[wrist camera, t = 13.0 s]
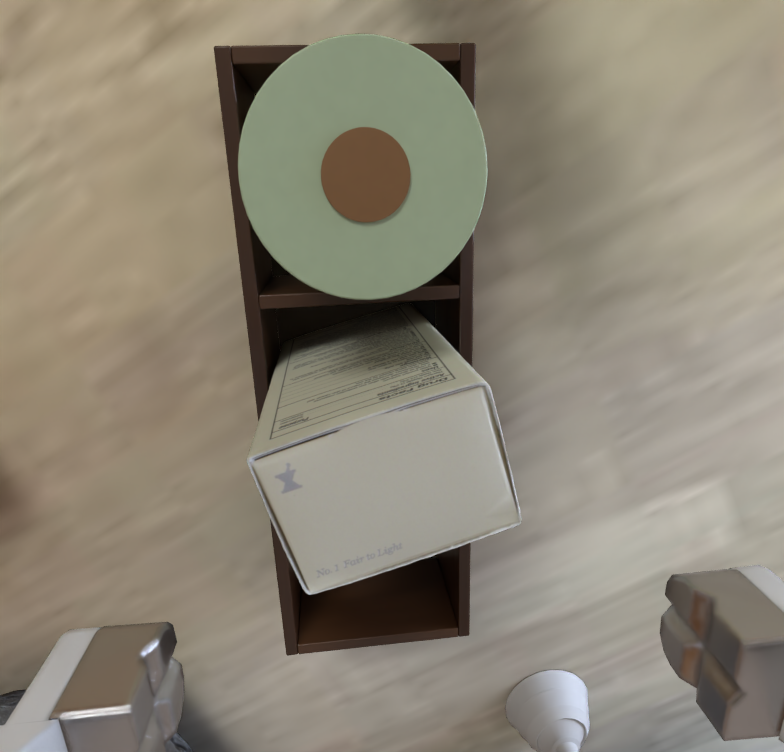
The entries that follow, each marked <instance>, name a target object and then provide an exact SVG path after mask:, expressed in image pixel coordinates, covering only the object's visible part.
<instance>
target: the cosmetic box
mask: <svg viewBox="0 0 784 752" xmlns="http://www.w3.org/2000/svg"><path fill="white" fill-rule="evenodd" d="M246 461H247V464H248V466H249V468H250V470H251V472H252V475H253V478H254V481H255V483H256V486H257V488H258V490H259V492H260V495H261V497H262V499H263V502H264V505H265V507H266V509H267V512H268V515H269V517H270V519H271V521H272V523H273V526H274V528H275V530H276V532H277V535H278V537H279V539H280V542H281V544H282V547H283V549H284V551H285V553H286V555H287V557H288V560H289V562H290V564H291V566H292V568H293V570H294V572H295V574H296V576H297V578H298V580H299V582H300V584H301V586H302V589H303V590H304V591H305V593H307V594H308V595H312V594H317V593H320V592H323V591H326V590H330V589H334V588H336V587H340V586H343V585H347V584H350V583H353V582H356V581H359V580H362V579H365V578H368V577H372V576H375V575H378V574H380V573H383V572H386V571H390V570H393V569H396V568H399V567H402V566H405V565H408V564H411V563H413V562H416V561H419V560H422V559H425V558H428V557H432V556H434V555H436V554H440V553H443V552H445V551H448V550H451V549H454V548H457V547H460V546H463V545H466V544H468V543H471V542H474V541H477V540H480V539H483V538H486V537H488V536H491V535H494V534H497V533H500V532H502V531H505V530H508V529H510V528H513V527H516V526H518V525H520V523H521V522H522V517H521V513H520V508H519V504H518V500H517V495H516V490H515V486H514V481H513V476H512V472H511V467H510V463H509V459H508V455H507V450H506V446H505V442H504V437H503V433H502V429H501V425H500V421H499V417H498V413H497V409H496V405H495V402H494V398H493V394H492V390H491V387H490V385H489V384H488V383H487V382H486V381H485V380H484V379H483V378H482V377H481V376H480V375H479V374H478V373H477V372H476V371H475V370H474V369H473V368H472V367H471V366H470V365H469V364H468V363H467V362H466V361H465V360H464V359H463V357H462V356H461V355H460V354H459V353H458V352H457V351H456V350H455V349H454V348H453V347H452V346H451V345H450V343H449V342H448V341H447V340H446V339H445V338H444V337H443V336H442V335H441V334H440V333H439V332H438V331H437V330H436V329H435V328H434V327H433V326H432V325H431V324H430V322H429V321H428V320H427V319H426V318H425V317H424V316H423V315H422V314H421V313H420V312H419V311H418V310H417V309H416V308H415V307H414V306H413V305H412V304H411V303H405V304H402V305H398V306H395V307H391V308H388V309H384V310H381V311H377V312H374V313H371V314H368V315H364V316H361V317H358V318H354V319H351V320H348V321H345V322H342V323H339V324H336V325H332V326H329V327H326V328H323V329H320V330H317V331H314V332H311V333H308V334H305V335H302V336H299V337H296V338H293V339H290V340H287V341H285V342H284V343H283V345H282V348H281V351H280V354H279V358H278V361H277V365H276V368H275V371H274V374H273V377H272V380H271V384H270V387H269V390H268V393H267V396H266V399H265V402H264V406H263V409H262V412H261V415H260V419H259V422H258V425H257V428H256V432H255V435H254V438H253V441H252V444H251V447H250V450H249V453H248V456H247V460H246Z"/></svg>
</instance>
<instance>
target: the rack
mask: <svg viewBox="0 0 784 752" xmlns="http://www.w3.org/2000/svg"><path fill="white" fill-rule="evenodd" d="M410 45H412V46H414V47H415V48H417V49H419V50H421V51H423V52H425V53H426V54H428V55H429V56H430V57H432V58H433V59H434V60H436V61H437V62H438V63H440V64H441V65H442V66H443V67H444V68H445V69H446V70H447V71H448V72H449V73H450V74H451V75H452V76H453V77H454V79H455V80H456V81H457V83H458V84H459V85H460V86H461V88H462V89H463V90H464V92H465V94H466V95H467V97H468V99H469V100H470V102H471V104H472V106H473V108H474V110H475V81H476V44H475V43H461V44H459V43H429V44H410ZM307 46H309V45H264V46H232V47H230V46H215V47H214V53H215V62H216V70H217V78H218V87H219V95H220V104H221V112H222V120H223V129H224V137H225V145H226V154H227V162H228V170H229V179H230V187H231V195H232V204H233V212H234V221H235V229H236V237H237V246H238V254H239V262H240V271H241V279H242V287H243V296H244V304H245V312H246V321H247V329H248V338H249V346H250V354H251V363H252V371H253V379H254V388H255V396H256V404H257V413H258V421H259V419H260V415H261V412H262V409H263V406H264V402H265V399H266V396H267V393H268V390H269V387H270V384H271V380H272V377H273V374H274V371H275V368H276V365H277V361H278V358H279V354H280V342H279V332H278V322H277V312H276V308H294V307H313V306H332V305H350V304H369V303H387V302H406V301H424V300H435V329H436V330H437V331H438V332H439V333H440V334H441V335H442V336H443V337H444V338H445V339H446V340H447V341H448V342H449V343H450V345H451V346H452V347H453V348H454V349H455V350H456V351H457V352H458V353H459V354H460V355H461V356H462V357H463V359H464V360H465V361H466V362H467V363H468V364H469V365H470V366H471V367H472V351H473V261H474V230H473V232H472V235H471V236H470V238H469V240H468V241H467V243H466V244H465V246H464V248H463V249H462V250H461V252H460V253H459V254H458V255H457V256H456V258H455V259H454V260H453V261H452V262H451V263H450V264H449V265H448V266H447V267H446V268H445V269H444V270H443V271H442V272H441V273H439V274H438V275H437V276H435V277H434V278H433V279H431V280H430V281H428V282H427V283H425V284H423V285H421V286H419V287H418V288H416V289H413V290H411V291H408V292H406V293H403V294H401V295H397V296H393V297H389V298H383V299H375V300H355V299H348V298H341V297H337V296H334V295H330V294H327V293H324V292H322V291H319V290H317V289H315V288H312V287H310V286H309V285H307V284H305V283H303V282H302V281H300V280H298V279H297V278H296V277H294V276H293V275H281V276H273V273H272V263H271V254H270V253H269V252H268V251H267V249H266V248H265V247H264V246H263V244H262V242H261V241H260V239H259V237H258V236H257V234H256V233H255V231H254V229H253V227H252V224H251V222H250V220H249V218H248V216H247V213H246V210H245V206H244V203H243V200H242V196H241V190H240V185H239V176H238V153H239V143H240V138H241V133H242V128H243V125H244V122H245V119H246V116H247V113H248V111H249V108H250V106H251V104H252V102H253V100H254V98H255V96H254V93H255V94H257V93H258V91H259V90H260V89H261V87H262V86H263V84H264V83H265V81H266V80H267V79H268V78H269V76H270V75H271V74H272V73H273V72H274V71H275V70H276V69H277V68H278V67H279V66H280V65H281V64H282V63H283V62H285V61H286V60H287V59H288V58H290V57H291V56H292V55H294V54H295V53H297V52H299V51H300V50H302V49H304V48H305V47H307ZM270 521H271V519H270ZM271 530H272V538H273V546H274V555H275V563H276V571H277V580H278V588H279V597H280V605H281V613H282V622H283V630H284V638H285V647H286V654H287V655H295V654H298V653H299V654H304V653H313V652H322V651H331V650H341V649H350V648H359V647H368V646H377V645H386V644H395V643H404V642H414V641H423V640H432V639H441V638H450V637H458V636H468V635H469V621H470V543H468V544H466V545H463V546H460V547H457V548H454V549H451V550H448V551H445V552H443V553H440V554H438V558H431V559H422V560H419V561H416V562H413V563H411V564H408V565H405V566H402V567H399V568H396V569H393V570H390V571H386V572H383V573H380V574H378V575H375V576H372V577H368V578H365V579H362V580H359V581H356V582H353V583H350V584H347V585H343V586H340V587H336V588H334V589H330V590H326V591H323V592H320V593H317V594H312V595H308V594H307V593H305V591H304V590H303V589H302V586H301V584H300V582H299V580H298V578H297V576H296V574H295V572H294V570H293V568H292V566H291V564H290V562H289V560H288V557H287V555H286V553H285V551H284V549H283V547H282V544H281V542H280V539H279V537H278V535H277V532H276V530H275V528H274V526H273V523H272V521H271Z"/></svg>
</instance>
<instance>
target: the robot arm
mask: <svg viewBox="0 0 784 752" xmlns="http://www.w3.org/2000/svg"><path fill="white" fill-rule="evenodd" d="M665 595H666V597H667V598H668V600H669V601H670V602H671V604H672V605H671V606H670V607H669V608H668V610H667V611H666V612H665V613H664V614H663V615H662V617H661V627H660V636H661V641H662V646H663V650H664V653H665V655H666V657H667V659H668V661H669V664H670V665H671V667H672V668H673V670H674V671H675V672H676V674H677V675H678V677H679V678H681V679H682V680H684V681H686V682H687V683H689V684H690V685H692V686H694V687H695V688H697V691H696V702H697V704H698V705H699V707H700V708H701V709H702V711H703V712H704V714H705V715H706V716H707V718H708V719H709V721H710V722H711V723H712V725H713V726H714V728H715V729H716V730H717V732H718V733H719V735H720V736H721V737H722V739H723V740H724V741H728V740H740V739H751V738H763V737H774V736H779V740H780V741H782V742H783V743H784V581H782V580H781V579H780V578H779V577H778V576H777V575H775V574H774V573H773V572H772V571H771V570H770V569H768V568H765V567H763V566H761V565H753V566H744V567H735V568H730V569H722V570H712V571H702V572H693V573H683V574H673V575H671V577H670V578H669V580H668V581H667V585H666V591H665ZM176 643H177V640H176V636H175V631H174V627H173V625H172V624H171V623H169V622H159V623H145V624H131V625H116V626H104V627H97V628H83V629H70V630H68V631H67V632H66V633H64V634H63V635H61V637H60V638H59V639H58V641H57V643H56V644H55V646H54V647H53V649H52V650H51V652H50V654H49V655H48V657H47V658H46V660H45V662H44V663H43V665H42V666H41V668H40V669H39V671H38V673H37V674H36V676H35V677H34V679H33V681H32V682H31V684H30V685H29V687H28V688H27V690H26V692H25V693H24V695H23V696H22V698H21V700H20V701H19V703H18V704H17V706H16V708H15V709H14V711H13V712H12V714H11V715H10V717H9V719H8V720H7V722H6V723H5V725H0V752H166V750H165V744H166V743H167V742H168V741H169V740H170V739H171V738H172V737H173V736H174V735H175V733H176V732H177V729H178V726H179V722H180V719H181V715H182V708H183V700H184V675H183V670H182V664H180V663H179V662H178V661H177V660H176V659H174V658H173V657H172V655H173V652H174V649H175V646H176Z"/></svg>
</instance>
